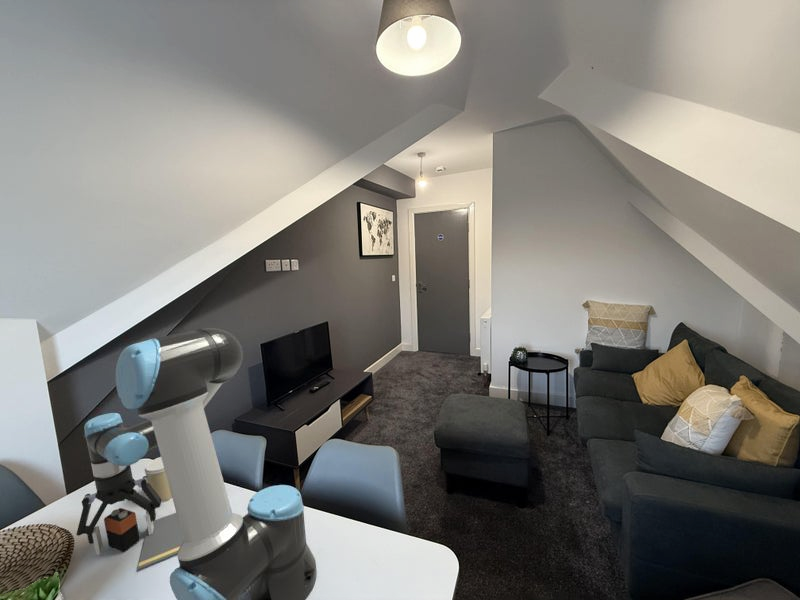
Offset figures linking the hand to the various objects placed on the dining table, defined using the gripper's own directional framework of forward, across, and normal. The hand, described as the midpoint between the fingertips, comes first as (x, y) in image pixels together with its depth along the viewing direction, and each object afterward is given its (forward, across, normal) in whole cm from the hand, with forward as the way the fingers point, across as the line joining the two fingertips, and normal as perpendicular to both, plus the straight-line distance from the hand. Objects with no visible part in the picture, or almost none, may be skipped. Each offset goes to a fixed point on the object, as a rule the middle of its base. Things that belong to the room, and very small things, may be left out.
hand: (126, 540), depth 92 cm
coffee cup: (+1, -8, -18) cm, 20 cm away
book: (+1, -12, +4) cm, 12 cm away
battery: (+1, 0, 0) cm, 1 cm away
